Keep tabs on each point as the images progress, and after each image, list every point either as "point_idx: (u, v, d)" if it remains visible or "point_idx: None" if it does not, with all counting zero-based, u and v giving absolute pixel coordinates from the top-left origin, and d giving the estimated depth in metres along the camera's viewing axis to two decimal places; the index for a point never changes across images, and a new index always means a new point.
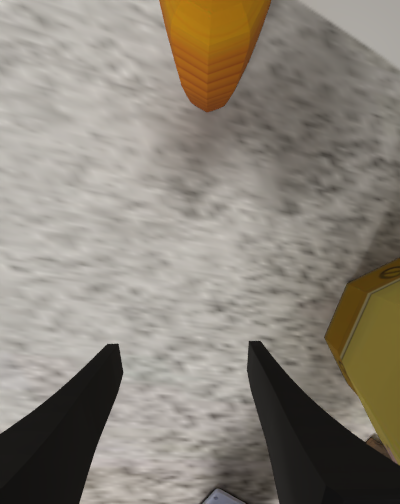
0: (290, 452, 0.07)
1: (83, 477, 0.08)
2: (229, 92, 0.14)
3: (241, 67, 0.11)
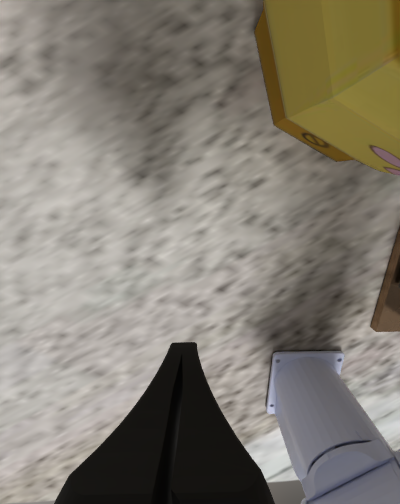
0: None
1: None
2: None
3: None
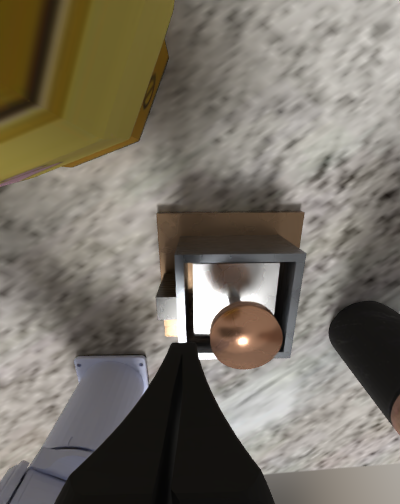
0: None
1: None
2: None
3: None
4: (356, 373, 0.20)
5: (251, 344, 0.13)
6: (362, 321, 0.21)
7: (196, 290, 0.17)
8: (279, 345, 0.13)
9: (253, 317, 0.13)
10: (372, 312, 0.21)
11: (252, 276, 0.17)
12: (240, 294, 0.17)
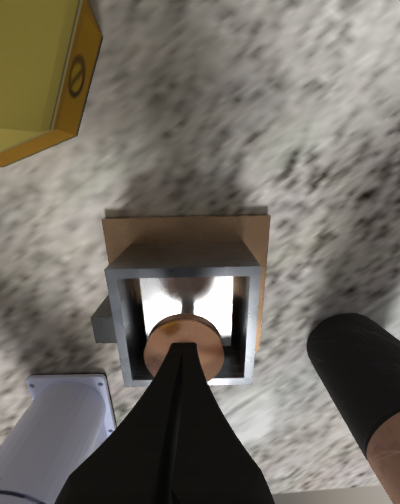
0: None
1: None
2: None
3: None
4: (332, 397, 0.18)
5: None
6: (340, 337, 0.18)
7: (145, 299, 0.16)
8: (221, 362, 0.12)
9: (188, 331, 0.12)
10: (351, 327, 0.19)
11: (204, 284, 0.16)
12: (193, 303, 0.16)
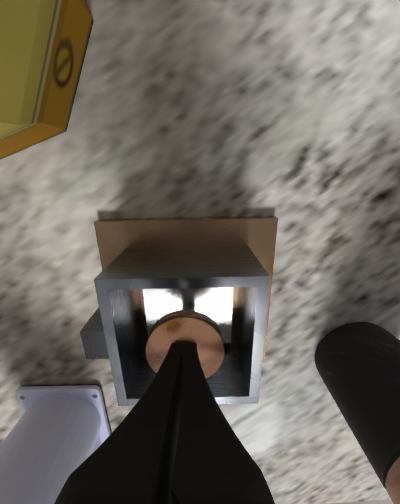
0: None
1: None
2: None
3: None
4: (344, 415, 0.16)
5: None
6: (352, 350, 0.17)
7: (146, 296, 0.16)
8: (221, 357, 0.12)
9: (188, 328, 0.12)
10: (364, 338, 0.17)
11: None
12: (194, 300, 0.16)
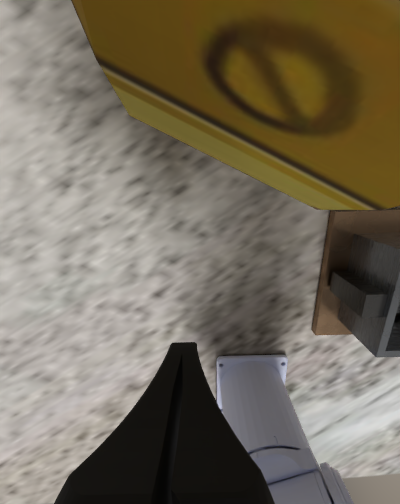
0: None
1: None
2: None
3: None
4: None
5: None
6: None
7: None
8: None
9: None
10: None
11: None
12: None
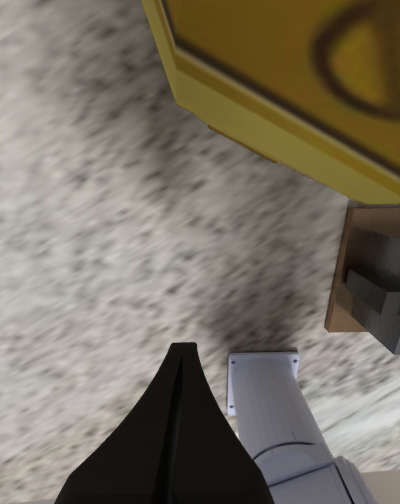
0: None
1: None
2: None
3: None
4: None
5: None
6: None
7: None
8: None
9: None
10: None
11: None
12: None
